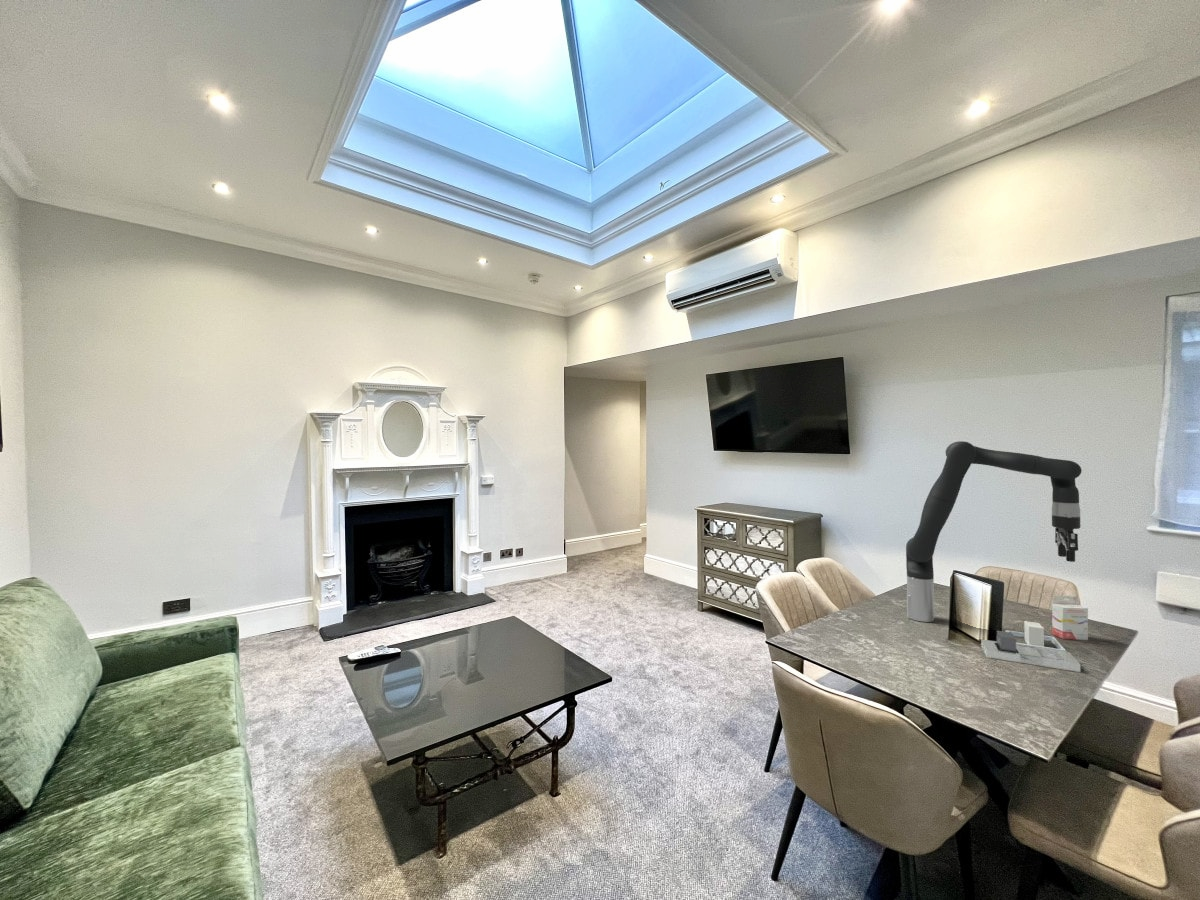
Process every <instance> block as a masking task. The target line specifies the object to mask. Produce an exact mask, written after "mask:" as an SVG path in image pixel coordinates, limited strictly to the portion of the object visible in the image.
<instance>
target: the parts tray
mask: <svg viewBox="0 0 1200 900" xmlns="http://www.w3.org/2000/svg"><path fill="white" fill-rule="evenodd" d="M1004 632H1011V633H1012V634H1013V635H1014V637H1019V638H1025V632H1021V631H1016V630H1015V631H1013V630H1007V629H1006V630H1004ZM1044 641H1047V642H1048V641H1049V642H1052V643H1053V645H1054V646H1055V647H1056V648H1054V647H1049V646H1044V647H1042V646H1036V645H1029V644H1027V643H1020V642H1016V645H1023V646H1030V647H1037V648H1044V649H1050V650H1057V651H1064V652H1067V649H1065V647H1063V644H1061V643H1060V642H1059V641H1058V640H1057V639H1056V638H1055V636H1053V635H1052V636H1051V635H1045V634H1044Z"/></svg>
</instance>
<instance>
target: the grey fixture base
mask: <svg viewBox="0 0 1200 900" xmlns="http://www.w3.org/2000/svg"><path fill="white" fill-rule="evenodd" d="M1016 643H1017V638H1016V636H1014V635H1013V634H1012V633H1011V632H1005V630H1004V631H1002V630H996V640H989V639H981V641H980V644H981V645H980V646H981V649H982V650H984V651H983V653H984V654H985V657H986V658H990V659H996V660H1003V661H1008V662H1012V663H1013V662H1014V663H1020V664H1027V665H1033V666H1039V667H1046V668H1051V669H1058V670H1065V671H1069V672H1070V671H1071V672H1075V673H1076V672H1077V673H1081V664H1080V662H1079V661H1078V660H1077V659H1076V658H1075V657H1074V656H1073V654H1072V653H1071V652H1069V651H1066V652H1064V651H1057V650H1050V649H1044V648H1037V647H1030V646H1023V645H1016Z"/></svg>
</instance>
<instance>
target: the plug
mask: <svg viewBox="0 0 1200 900" xmlns="http://www.w3.org/2000/svg"><path fill="white" fill-rule="evenodd" d="M1023 625H1024V633H1025V637H1024V641H1025V644H1029V645H1036V646H1042V647H1045V640H1044V635H1045V628H1044V627H1043V626H1042V625H1041V624H1040V623H1039V622H1034V621H1033V622H1032V621H1027V620H1026V621H1025V620H1024V623H1023Z"/></svg>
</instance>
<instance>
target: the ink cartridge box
mask: <svg viewBox="0 0 1200 900" xmlns="http://www.w3.org/2000/svg"><path fill="white" fill-rule="evenodd" d="M1052 598H1053V599H1052V606H1051V607H1052V609H1051V611H1052V615H1051V616H1052V618H1051V619H1052V623H1051V624H1052V626H1051V627H1052V628H1051V629H1052V631H1051V632H1052V636H1053V635H1054V636H1055V637H1058V638H1060V639H1063V640H1079V641H1080V640H1083V641H1085V640H1086V641H1088V640H1089V632H1088V631H1089V628H1088V627H1089V608H1088V607H1086V606H1083V605H1080V604H1077V603H1078V602H1077V601H1078V600H1077V599H1078V597H1077V596H1076V595H1054V596H1053V597H1052ZM1065 599H1066V600H1065Z"/></svg>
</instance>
